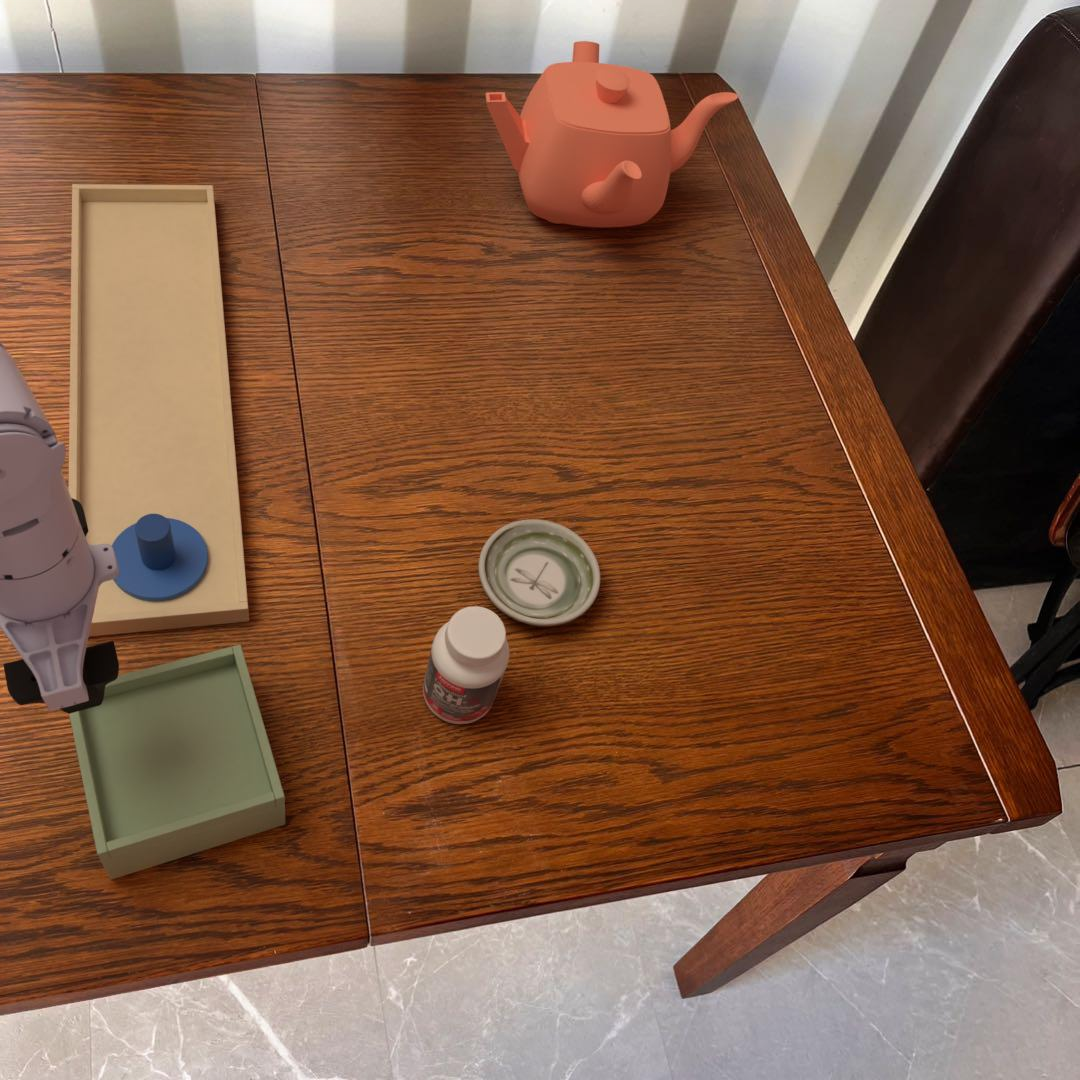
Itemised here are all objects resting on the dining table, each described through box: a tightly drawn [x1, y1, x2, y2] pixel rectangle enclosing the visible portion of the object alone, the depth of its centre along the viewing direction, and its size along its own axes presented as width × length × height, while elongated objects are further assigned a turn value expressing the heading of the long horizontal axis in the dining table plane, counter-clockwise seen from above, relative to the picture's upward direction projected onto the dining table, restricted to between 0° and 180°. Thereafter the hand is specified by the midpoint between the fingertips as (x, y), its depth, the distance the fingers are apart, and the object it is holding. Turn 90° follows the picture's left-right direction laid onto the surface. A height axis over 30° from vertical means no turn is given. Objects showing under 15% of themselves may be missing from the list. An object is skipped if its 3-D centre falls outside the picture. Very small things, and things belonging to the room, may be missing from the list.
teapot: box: [485, 40, 739, 228], centre depth 108 cm, size 18×18×14 cm
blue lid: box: [112, 514, 208, 602], centre depth 79 cm, size 7×7×5 cm
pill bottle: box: [422, 605, 510, 725], centre depth 76 cm, size 5×5×10 cm
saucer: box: [477, 518, 601, 627], centre depth 85 cm, size 10×10×2 cm
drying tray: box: [67, 183, 250, 638], centre depth 89 cm, size 45×12×2 cm, turn 12°
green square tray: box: [68, 644, 286, 881], centre depth 71 cm, size 11×11×6 cm
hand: (72, 648), depth 67 cm, fingers open, 7 cm apart
